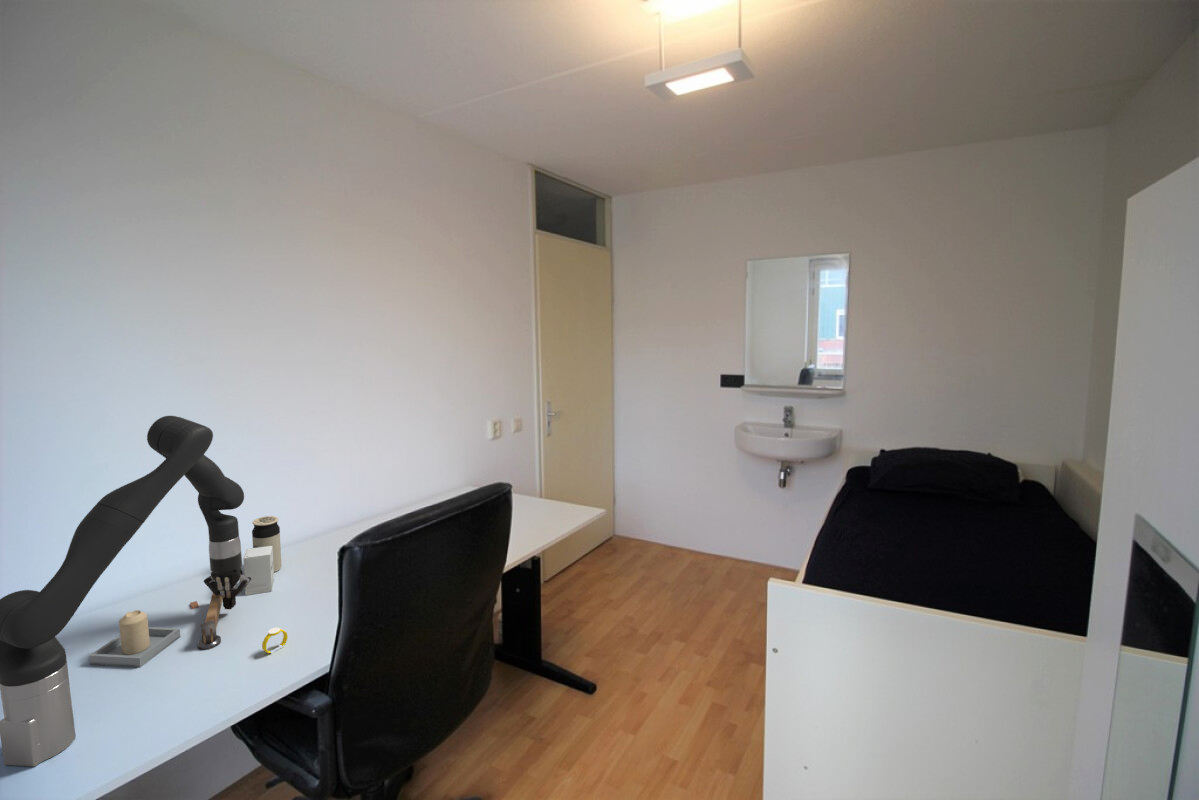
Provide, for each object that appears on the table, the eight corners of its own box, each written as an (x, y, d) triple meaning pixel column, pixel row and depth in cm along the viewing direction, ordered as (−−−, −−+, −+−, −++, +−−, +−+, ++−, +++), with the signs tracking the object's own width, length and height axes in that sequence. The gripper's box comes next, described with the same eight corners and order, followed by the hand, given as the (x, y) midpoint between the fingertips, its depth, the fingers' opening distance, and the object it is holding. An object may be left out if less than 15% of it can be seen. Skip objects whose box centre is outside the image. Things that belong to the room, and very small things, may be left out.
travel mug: (276, 562, 189) (273, 513, 186) (285, 569, 184) (283, 520, 181) (250, 569, 183) (247, 519, 180) (259, 577, 178) (256, 526, 175)
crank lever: (215, 641, 142) (214, 620, 141) (201, 644, 140) (199, 623, 139) (225, 597, 162) (224, 579, 161) (212, 600, 161) (211, 581, 160)
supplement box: (272, 591, 170) (270, 554, 168) (244, 596, 166) (242, 558, 164) (274, 580, 176) (273, 545, 174) (248, 584, 173) (246, 548, 171)
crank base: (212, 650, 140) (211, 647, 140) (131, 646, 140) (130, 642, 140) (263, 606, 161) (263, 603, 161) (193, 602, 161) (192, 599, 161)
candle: (133, 657, 135) (129, 620, 134) (116, 653, 136) (112, 617, 135) (155, 644, 141) (152, 609, 139) (138, 640, 142) (135, 605, 140)
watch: (267, 658, 139) (265, 639, 137) (261, 655, 140) (258, 635, 139) (290, 645, 144) (287, 626, 142) (284, 642, 145) (281, 622, 144)
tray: (140, 667, 132) (139, 658, 132) (90, 664, 133) (89, 655, 132) (180, 637, 145) (179, 628, 145) (134, 634, 145) (133, 626, 145)
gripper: (256, 547, 157) (260, 602, 160) (212, 545, 157) (216, 600, 160) (239, 559, 149) (243, 616, 152) (192, 557, 150) (197, 614, 152)
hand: (229, 607), depth 156 cm, fingers closed
